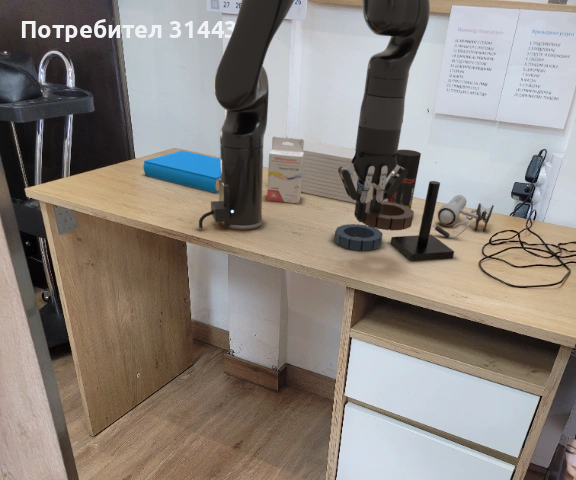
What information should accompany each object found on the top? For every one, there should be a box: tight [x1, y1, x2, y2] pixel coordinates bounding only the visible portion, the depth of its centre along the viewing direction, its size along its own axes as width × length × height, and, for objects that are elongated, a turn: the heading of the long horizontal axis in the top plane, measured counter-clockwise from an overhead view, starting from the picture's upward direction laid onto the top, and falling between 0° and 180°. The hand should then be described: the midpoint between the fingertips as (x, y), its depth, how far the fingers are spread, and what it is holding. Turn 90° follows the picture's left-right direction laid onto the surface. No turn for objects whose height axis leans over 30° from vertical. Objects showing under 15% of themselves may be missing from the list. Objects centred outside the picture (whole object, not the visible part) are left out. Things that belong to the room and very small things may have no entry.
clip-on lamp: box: [431, 194, 495, 239], centre depth 131 cm, size 12×6×18 cm
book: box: [143, 149, 221, 194], centre depth 155 cm, size 17×4×25 cm
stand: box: [390, 180, 455, 262], centre depth 116 cm, size 10×10×14 cm
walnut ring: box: [361, 201, 415, 231], centre depth 107 cm, size 10×10×2 cm
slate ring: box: [333, 223, 384, 252], centre depth 122 cm, size 10×10×2 cm
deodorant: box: [388, 149, 422, 210], centre depth 134 cm, size 6×6×15 cm
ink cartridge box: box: [266, 136, 305, 204], centre depth 140 cm, size 9×5×15 cm, turn 84°
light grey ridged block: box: [282, 139, 392, 204], centre depth 149 cm, size 32×11×11 cm, turn 63°
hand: (365, 220), depth 107 cm, fingers closed on walnut ring, 2 cm apart
